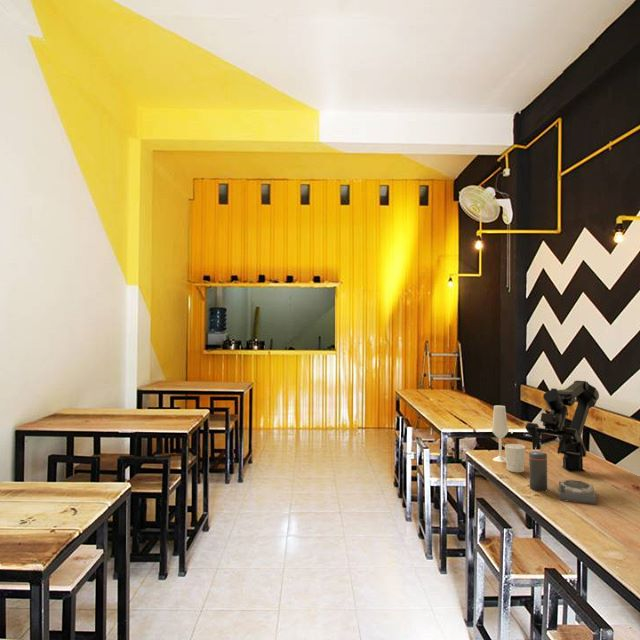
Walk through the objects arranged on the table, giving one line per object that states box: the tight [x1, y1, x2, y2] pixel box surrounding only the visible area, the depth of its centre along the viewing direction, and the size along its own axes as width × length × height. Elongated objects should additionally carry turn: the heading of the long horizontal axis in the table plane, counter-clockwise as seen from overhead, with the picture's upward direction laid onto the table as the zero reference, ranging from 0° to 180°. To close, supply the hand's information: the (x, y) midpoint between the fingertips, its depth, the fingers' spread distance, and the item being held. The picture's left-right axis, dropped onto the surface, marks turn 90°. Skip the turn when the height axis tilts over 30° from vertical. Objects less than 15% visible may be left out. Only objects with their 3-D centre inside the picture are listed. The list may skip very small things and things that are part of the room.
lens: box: [528, 451, 548, 492], centre depth 183 cm, size 6×6×13 cm
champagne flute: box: [491, 404, 509, 463], centre depth 221 cm, size 7×7×24 cm
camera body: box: [558, 479, 597, 505], centre depth 175 cm, size 13×11×4 cm
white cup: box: [504, 443, 526, 473], centre depth 206 cm, size 8×8×10 cm
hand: (545, 450), depth 188 cm, fingers open, 9 cm apart
